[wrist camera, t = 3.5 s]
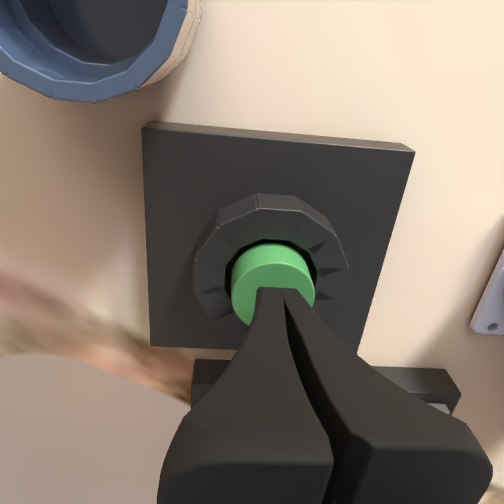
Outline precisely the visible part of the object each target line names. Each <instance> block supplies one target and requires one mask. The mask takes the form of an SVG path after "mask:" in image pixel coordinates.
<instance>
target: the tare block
mask: <svg viewBox="0 0 504 504" xmlns="http://www.w3.org/2000/svg"><path fill="white" fill-rule="evenodd" d="M142 152H143V176H144V200H145V224H146V248H147V272H148V296H149V320H150V344H151V346H163V347H187V348H211V349H235V350H238V349H239V347H240V345H241V343H242V341H243V339H244V337H245V335H246V332H247V330H248V328H249V326H248V325H247V324H245V323H244V322H243V321H242V320H241V319H240V318H239V317H238V316H237V315H236V313H235V311H234V309H233V306H232V302H231V277H232V270H233V267H234V264H235V262H236V261H237V259H238V258H239V257H240V256H241V255H242V254H243V253H244V252H245V251H247V250H248V249H250V248H252V247H254V246H256V245H259V244H263V243H280V244H284V245H287V246H289V247H291V248H293V249H294V250H296V251H297V252H298V253H299V254H300V255H301V256H302V257H303V258H304V260H305V262H306V265H307V267H308V270H309V273H310V276H311V279H312V282H313V285H314V289H315V299H314V303H313V306H312V308H313V310H314V311H315V312H316V313H317V315H318V316H319V317H320V318H321V319H322V320H323V321H324V323H325V324H326V325H327V326H328V327H329V328H330V329H331V330H332V331H333V333H334V334H335V335H336V336H337V337H338V338H339V339H340V340H341V341H342V342H343V343H344V344H346V345H347V346H348V347H349V348H350V349H351V350H352V351H353V352H354V353H356V354H357V351H358V347H359V344H360V340H361V337H362V334H363V330H364V327H365V323H366V320H367V316H368V313H369V310H370V306H371V303H372V299H373V296H374V293H375V289H376V286H377V282H378V279H379V275H380V272H381V269H382V265H383V262H384V258H385V255H386V252H387V248H388V245H389V241H390V238H391V235H392V231H393V228H394V224H395V221H396V217H397V214H398V211H399V207H400V204H401V200H402V197H403V194H404V190H405V187H406V183H407V180H408V176H409V173H410V170H411V166H412V163H413V159H414V156H415V151H414V150H412V149H410V148H409V147H407V146H405V145H403V144H401V143H392V142H381V141H370V140H359V139H347V138H336V137H325V136H314V135H302V134H291V133H280V132H268V131H257V130H246V129H235V128H223V127H212V126H201V125H190V124H178V123H167V122H156V121H149V122H148V123H147V124H146V125H144V126H143V127H142Z"/></svg>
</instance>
